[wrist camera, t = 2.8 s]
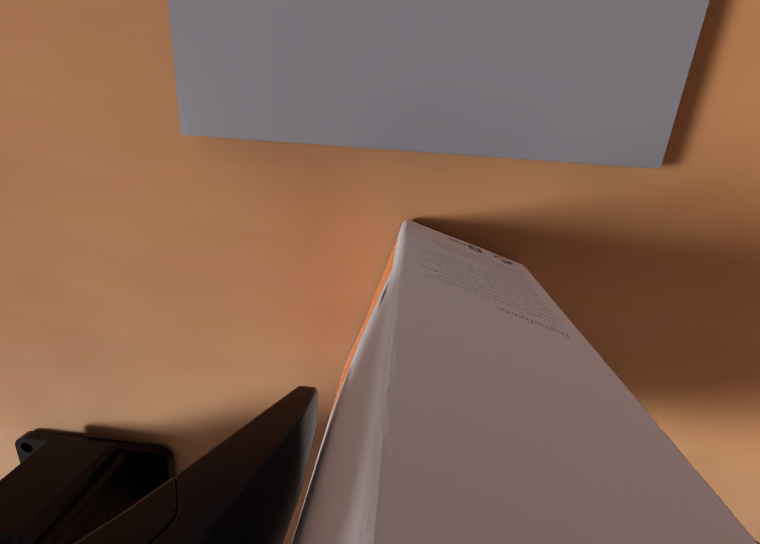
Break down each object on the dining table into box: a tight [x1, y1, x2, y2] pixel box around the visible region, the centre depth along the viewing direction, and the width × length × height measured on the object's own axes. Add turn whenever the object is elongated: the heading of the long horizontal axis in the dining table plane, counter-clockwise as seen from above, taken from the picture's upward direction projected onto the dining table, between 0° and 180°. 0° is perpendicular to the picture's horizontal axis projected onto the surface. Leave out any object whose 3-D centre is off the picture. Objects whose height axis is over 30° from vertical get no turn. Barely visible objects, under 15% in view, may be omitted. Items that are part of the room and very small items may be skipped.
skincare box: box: [291, 220, 758, 544], centre depth 8 cm, size 6×4×12 cm
